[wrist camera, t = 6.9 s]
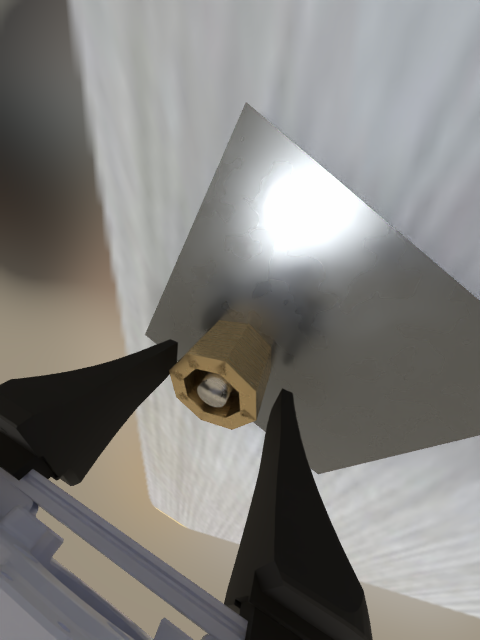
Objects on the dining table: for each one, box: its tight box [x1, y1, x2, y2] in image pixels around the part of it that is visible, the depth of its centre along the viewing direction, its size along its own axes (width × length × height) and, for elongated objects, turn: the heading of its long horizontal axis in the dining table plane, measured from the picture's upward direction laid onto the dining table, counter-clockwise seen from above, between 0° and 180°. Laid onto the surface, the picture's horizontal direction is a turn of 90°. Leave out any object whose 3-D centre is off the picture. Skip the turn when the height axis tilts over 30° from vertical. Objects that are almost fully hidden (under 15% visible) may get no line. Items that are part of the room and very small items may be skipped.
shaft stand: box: [145, 103, 480, 474], centre depth 11 cm, size 20×16×6 cm
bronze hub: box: [169, 320, 271, 430], centre depth 12 cm, size 5×5×4 cm
